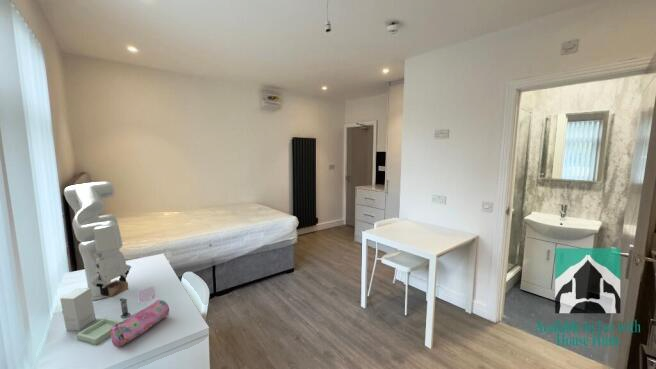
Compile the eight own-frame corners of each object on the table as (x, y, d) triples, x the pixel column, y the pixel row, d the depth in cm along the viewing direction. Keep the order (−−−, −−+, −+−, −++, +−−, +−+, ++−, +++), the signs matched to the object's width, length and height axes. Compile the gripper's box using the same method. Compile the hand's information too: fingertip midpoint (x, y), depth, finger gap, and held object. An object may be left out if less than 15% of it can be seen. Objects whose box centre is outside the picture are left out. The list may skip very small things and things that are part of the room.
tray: (77, 339, 109) (76, 334, 108) (106, 322, 119) (105, 317, 119) (95, 345, 106) (94, 339, 105) (124, 327, 116) (123, 321, 116)
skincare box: (83, 318, 123) (77, 287, 120) (97, 318, 122) (91, 287, 120) (65, 331, 114) (58, 297, 112) (79, 331, 114) (73, 297, 112)
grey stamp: (118, 317, 123) (116, 300, 121) (126, 312, 126) (124, 296, 125) (124, 318, 122) (121, 301, 120) (132, 314, 125) (129, 297, 124)
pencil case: (121, 351, 102) (118, 330, 101) (107, 345, 105) (103, 324, 104) (172, 317, 122) (170, 299, 120) (158, 313, 125) (156, 295, 124)
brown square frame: (112, 297, 114) (110, 289, 113) (100, 295, 116) (99, 287, 115) (128, 289, 120) (127, 281, 120) (117, 287, 122) (116, 279, 122)
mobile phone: (153, 285, 149) (156, 297, 137) (153, 287, 149) (156, 299, 138) (137, 290, 145) (138, 303, 133) (137, 292, 145) (138, 304, 133)
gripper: (91, 262, 106) (98, 303, 109) (134, 246, 122) (139, 282, 125) (79, 260, 108) (86, 300, 111) (123, 244, 125) (128, 280, 127)
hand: (114, 290), depth 118 cm, fingers closed on brown square frame, 7 cm apart
